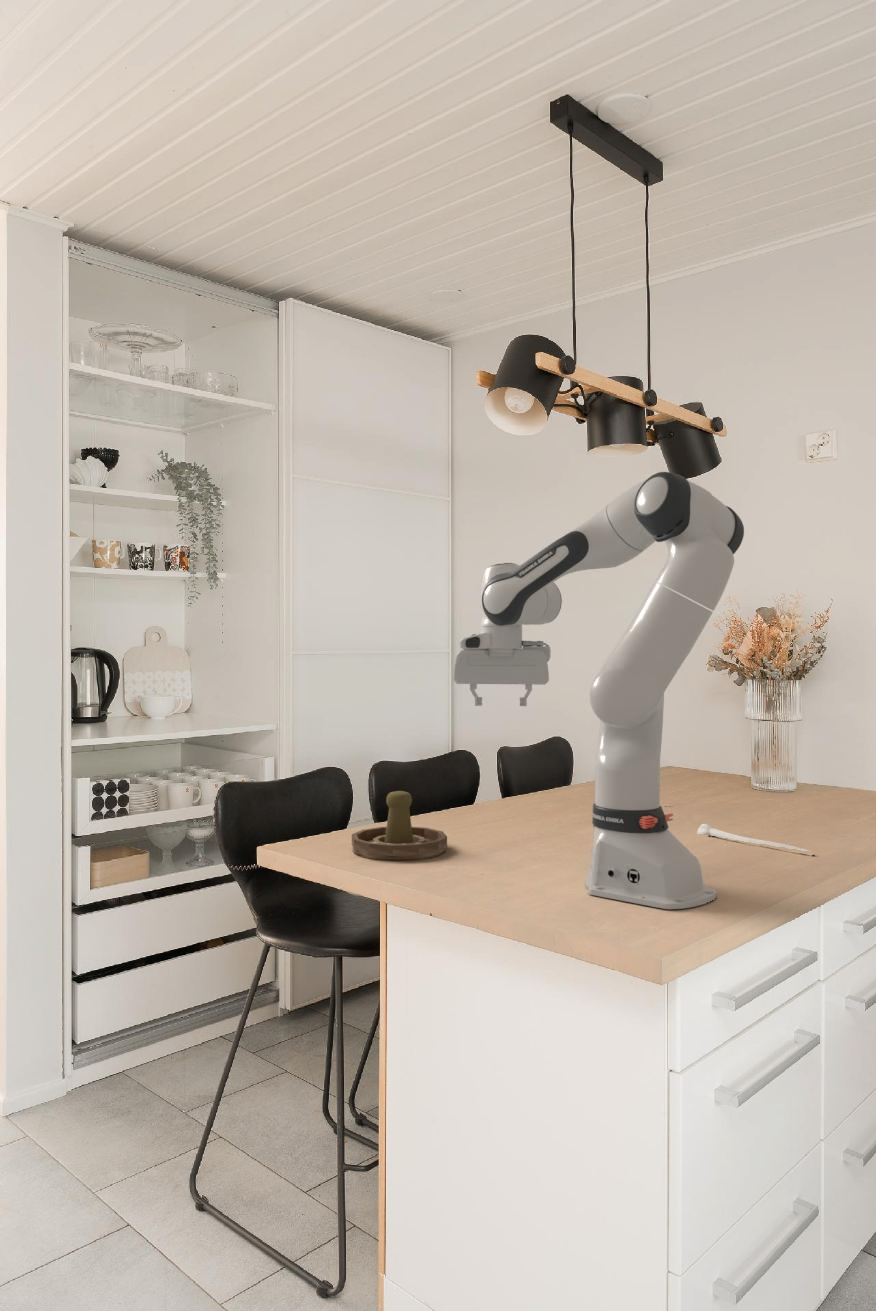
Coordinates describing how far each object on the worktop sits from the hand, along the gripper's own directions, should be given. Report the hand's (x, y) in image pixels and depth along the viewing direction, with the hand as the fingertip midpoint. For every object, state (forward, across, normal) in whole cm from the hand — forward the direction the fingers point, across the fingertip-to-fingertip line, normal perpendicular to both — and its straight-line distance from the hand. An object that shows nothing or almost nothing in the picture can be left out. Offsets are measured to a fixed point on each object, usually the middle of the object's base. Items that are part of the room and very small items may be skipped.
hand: (500, 705), depth 199 cm
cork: (+28, +20, +9) cm, 36 cm away
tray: (+29, +20, +9) cm, 37 cm away
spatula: (+30, -54, -4) cm, 62 cm away
